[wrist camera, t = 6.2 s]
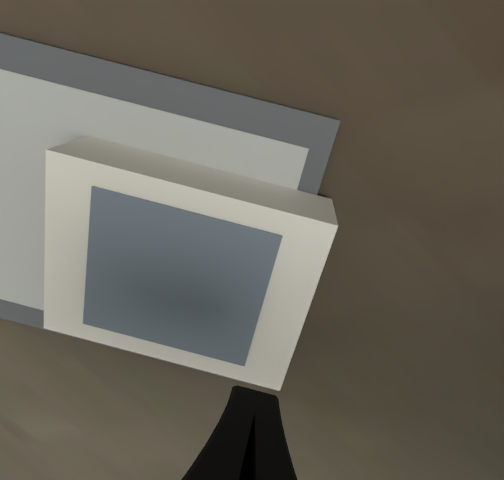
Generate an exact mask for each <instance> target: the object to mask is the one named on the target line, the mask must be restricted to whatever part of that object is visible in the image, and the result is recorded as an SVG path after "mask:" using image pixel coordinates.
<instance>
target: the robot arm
mask: <svg viewBox="0 0 504 480" xmlns="http://www.w3.org/2000/svg"><path fill="white" fill-rule="evenodd" d="M182 480H297V477H296V474H295V471H294V468H293V464H292V461H291V457H290V454H289V450H288V446H287V442H286V438H285V434H284V430H283V425H282V420H281V415H280V409H279V401H278V398H277V397H276V396H275V395H271V394H267V393H264V392H260V391H256V390H252V389H249V388H245V387H241V386H234V387H232V391H231V394H230V398H229V401H228V403H227V406H226V408H225V410H224V412H223V414H222V416H221V418H220V420H219V422H218V424H217V426H216V427H215V429H214V431H213V433H212V434H211V436H210V438H209V440H208V441H207V443H206V445H205V446H204V448H203V449H202V451H201V452H200V454H199V455H198V457H197V458H196V460H195V461H194V463H193V464H192V466H191V467H190V469H189V470H188V471H187V473H186V474H185V476H184V477H183V478H182Z"/></svg>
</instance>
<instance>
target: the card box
mask: <svg viewBox="0 0 504 480" xmlns="http://www.w3.org/2000/svg"><path fill="white" fill-rule="evenodd" d="M337 228H338V223H337V218H336V214H335V210H334V206H333V201H332V199H330V198H326V197H322V196H318V195H315V194H311V193H307V192H303V191H299V190H295V189H292V188H288V187H284V186H280V185H276V184H272V183H269V182H265V181H261V180H257V179H253V178H249V177H246V176H242V175H238V174H234V173H230V172H226V171H222V170H219V169H215V168H211V167H207V166H203V165H199V164H196V163H192V162H188V161H184V160H180V159H176V158H173V157H169V156H165V155H161V154H157V153H153V152H150V151H146V150H142V149H138V148H134V147H130V146H127V145H123V144H119V143H115V142H111V141H107V140H103V139H100V138H96V137H92V136H86V137H83V138H80V139H77V140H74V141H71V142H67V143H64V144H61V145H58V146H55V147H52V148H49V149H46V170H45V253H44V328H45V329H48V330H52V331H56V332H60V333H63V334H67V335H71V336H75V337H78V338H82V339H86V340H90V341H94V342H97V343H101V344H105V345H109V346H112V347H116V348H120V349H124V350H127V351H131V352H135V353H139V354H142V355H146V356H150V357H154V358H158V359H161V360H165V361H169V362H173V363H176V364H180V365H184V366H188V367H191V368H195V369H199V370H203V371H207V372H210V373H214V374H218V375H222V376H225V377H229V378H233V379H237V380H240V381H244V382H248V383H252V384H255V385H259V386H263V387H267V388H271V389H274V390H278V391H280V389H281V386H282V383H283V381H284V378H285V375H286V372H287V369H288V367H289V364H290V361H291V358H292V355H293V352H294V350H295V347H296V344H297V341H298V338H299V335H300V333H301V330H302V327H303V324H304V321H305V318H306V316H307V313H308V310H309V307H310V304H311V301H312V299H313V296H314V293H315V290H316V287H317V284H318V282H319V279H320V276H321V273H322V270H323V268H324V265H325V262H326V259H327V256H328V253H329V251H330V248H331V245H332V242H333V239H334V236H335V234H336V231H337Z"/></svg>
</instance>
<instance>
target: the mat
mask: <svg viewBox="0 0 504 480" xmlns="http://www.w3.org/2000/svg"><path fill="white" fill-rule="evenodd" d="M339 124H340V120H339V119H335V118H331V117H327V116H323V115H319V114H315V113H311V112H307V111H304V110H300V109H296V108H292V107H288V106H284V105H280V104H276V103H272V102H269V101H265V100H261V99H257V98H253V97H249V96H245V95H241V94H238V93H234V92H230V91H226V90H222V89H218V88H214V87H210V86H206V85H203V84H199V83H195V82H191V81H187V80H183V79H179V78H175V77H171V76H168V75H164V74H160V73H156V72H152V71H148V70H144V69H140V68H137V67H133V66H129V65H125V64H121V63H117V62H113V61H109V60H105V59H102V58H98V57H94V56H90V55H86V54H82V53H78V52H74V51H71V50H67V49H63V48H59V47H55V46H51V45H47V44H43V43H39V42H36V41H32V40H28V39H24V38H20V37H16V36H12V35H8V34H4V33H1V32H0V318H2V319H6V320H10V321H14V322H17V323H21V324H25V325H29V326H33V327H36V328H40V329H44V330H48V329H45V328H44V253H45V170H46V149H49V148H52V147H55V146H58V145H61V144H64V143H67V142H71V141H74V140H77V139H80V138H83V137H86V136H92V137H96V138H100V139H103V140H107V141H111V142H115V143H119V144H123V145H127V146H130V147H134V148H138V149H142V150H146V151H150V152H153V153H157V154H161V155H165V156H169V157H173V158H176V159H180V160H184V161H188V162H192V163H196V164H199V165H203V166H207V167H211V168H215V169H219V170H222V171H226V172H230V173H234V174H238V175H242V176H246V177H249V178H253V179H257V180H261V181H265V182H269V183H272V184H276V185H280V186H284V187H288V188H292V189H295V190H299V191H303V192H307V193H311V194H315V195H317V194H318V191H319V188H320V184H321V181H322V178H323V175H324V172H325V169H326V165H327V162H328V159H329V156H330V153H331V150H332V146H333V143H334V140H335V137H336V134H337V131H338V127H339ZM48 331H51V332H55V333H59V334H63V333H60V332H56V331H52V330H48ZM63 335H67V334H63ZM67 336H70V337H74V338H78V337H75V336H71V335H67ZM78 339H82V338H78ZM82 340H85V341H89V342H93V343H97V342H94V341H90V340H86V339H82ZM97 344H101V343H97ZM101 345H104V346H108V347H112V346H109V345H105V344H101ZM112 348H116V347H112ZM116 349H119V350H123V351H127V350H124V349H120V348H116ZM127 352H131V351H127ZM131 353H135V352H131ZM135 354H138V355H142V354H139V353H135ZM142 356H146V355H142ZM146 357H150V356H146ZM150 358H153V359H157V360H161V359H158V358H154V357H150ZM161 361H165V360H161ZM165 362H169V361H165ZM169 363H172V364H176V363H173V362H169ZM176 365H180V364H176ZM180 366H184V365H180ZM184 367H187V368H191V367H188V366H184ZM191 369H195V368H191ZM195 370H199V369H195ZM199 371H203V370H199ZM203 372H206V373H210V372H207V371H203ZM210 374H214V373H210ZM214 375H218V374H214ZM218 376H221V377H225V376H222V375H218ZM225 378H229V377H225ZM229 379H233V378H229ZM233 380H237V379H233ZM237 381H240V380H237ZM240 382H244V381H240ZM244 383H248V382H244ZM248 384H252V383H248ZM252 385H255V384H252ZM255 386H257V385H255Z"/></svg>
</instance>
